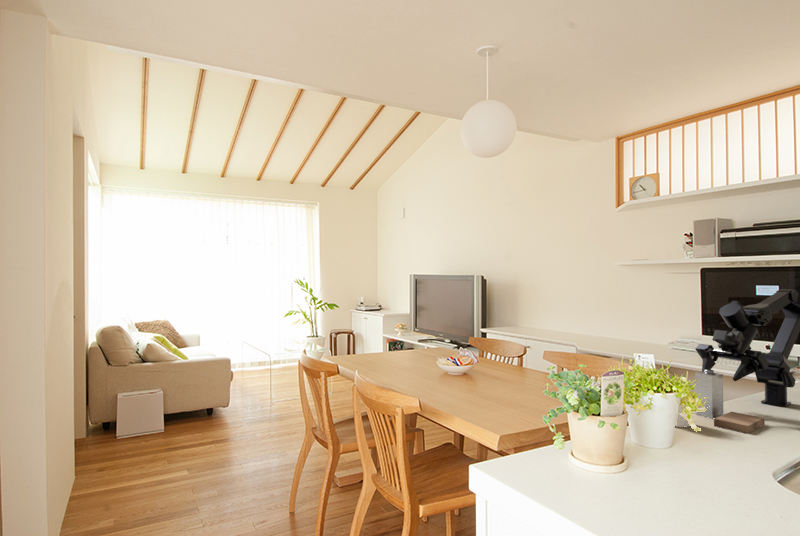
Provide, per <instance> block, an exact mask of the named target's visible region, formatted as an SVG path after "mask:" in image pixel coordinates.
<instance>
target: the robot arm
mask: <svg viewBox="0 0 800 536" xmlns="http://www.w3.org/2000/svg"><path fill="white" fill-rule="evenodd" d="M741 304H742V303H740V301H739V300H731V302H730V303H727V304H725V305H723V306H722V307H720V308H719V310H718V312H719V315H720V316H721V317H722V318H721V319H723V320H724V323H726V325H727V326H728V327H729V329H732V331H729V330H720V329H716V330H714V332H713V336H712V341H713V342H716V343H717V347H718V348H719V349H720V350H719V349H715V348H714V346H713V345H712V344H707V343H705V344H704V343H698V345H697V346H696V347H695V351H696V353H697V354H698V355H699V356H700V358H701V360H702V365H701V366H702V368H701V372H704V370H705V369H709V370H713V368H714V367H715V366H716V362H717V361H718V359H719V358H723V359H729V360H730V361H738V362H740V364H739V366H738V367H737V369H736V371H735V373H734V375H733V377H732V381H734V382H738V381H739V380H741V379H742V378H745V377H747V376H749V375H752V374H753V373H754V374H755V378H756V382H757V383H758V384H759V383H761V384H764V399H763V400H761V401H760V403H761V404H766V405H773V406H777V407H778V406H779V407H785V408H786V407H787V406H790V405H792V402H791V401H788V388H794V387H795V385H796V378H795V377H794V375H793V374H792V372H791V366H790V363H789V361H788V360H789V357H790V356H791V353H792V351H793V348H794V345H795V343H796V341H797V338H798V336H799V334H800V292H798V291H797V290H794V289H778V290H776V291H775V293H773V294H771V295H770V296H768V297H767V298H765V299H763V300H762V301H760V302H759V303H756V304H755V303H754V304H748V305H745V306H742V305H741ZM780 310H782V312H783V314H784V319H783V321H782V324H781V326H780V328H779V330H778V333H777V335H776V337H775V339H774V341H773V343H772V346H771V348H770V351H769V352H767V353H763V352H762V351H761V350H753V349H752V347H751V344H752V342H753V341H754V339H760V338H761V334H760V333H759V329H758V328H757V327H756V326H758V327H759V326H760V327H765V326H767V325H768V324H769V323H770V322H771V321H772V320H773V317H772V316H773V315H774V314H776V313H777V312H779V311H780Z"/></svg>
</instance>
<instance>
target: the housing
mask: <svg viewBox="0 0 800 536" xmlns="http://www.w3.org/2000/svg"><path fill="white" fill-rule="evenodd" d="M694 380H699V381H698V382H697V383H696V385H695V389H694V390H695V392H696V393H701V395H700V397H709V398H708V399H707V401H706V403H705V408H706V409H707V410H706V411H705V412H697V413H696V412H695V415H696V416H699V417H703V416H704V417H703V418H706V417H709V418H708V419H710V418H712V419H711V420H714V419H713V418H717V417H720V416H722V415H724V414H725V413H724V411H725V410H724V374H723V373H717V372H715V371H714V370H713V369H711V370H709V369H705V370H704V372H702V371H699V372H697V371H696V372H694ZM702 401H703V402H705V399H704V398H703V399H702ZM709 406H710V407H709ZM707 407H708V408H707Z"/></svg>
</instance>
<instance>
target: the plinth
mask: <svg viewBox="0 0 800 536" xmlns="http://www.w3.org/2000/svg"><path fill="white" fill-rule="evenodd" d="M765 423H766V422H765V417H762V416H756V415H751V414H745V413H741V412H737V411H736V412H735V411H729V412H727V413H724V415H722V416H720V417H717V418H715V419H713V427H716V426H717V427H716V428H720V427H721V429H726V430H729V429H730V430H731V431H735V432H738V433H739V432H740V433H742V434H743V433H744V434H750V433H752V432H754V431H756V430H758V429H760V428H762V427H764V426H765V425H766V424H765Z"/></svg>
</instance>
